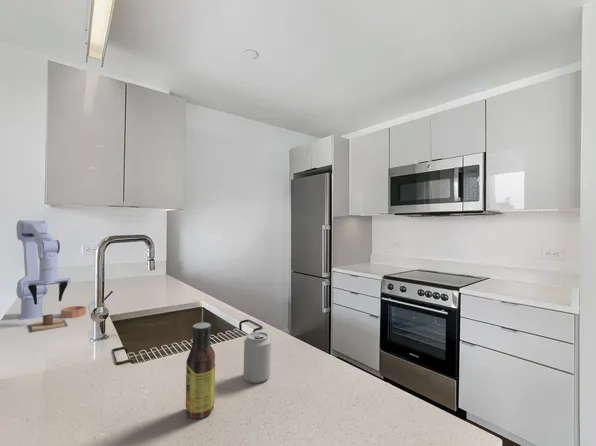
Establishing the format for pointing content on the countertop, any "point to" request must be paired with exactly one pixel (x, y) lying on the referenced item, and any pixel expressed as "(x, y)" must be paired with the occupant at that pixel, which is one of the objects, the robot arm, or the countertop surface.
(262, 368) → the can
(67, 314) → the bowl
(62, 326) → the mat
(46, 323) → the lid
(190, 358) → the sauce bottle
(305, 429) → the countertop surface
